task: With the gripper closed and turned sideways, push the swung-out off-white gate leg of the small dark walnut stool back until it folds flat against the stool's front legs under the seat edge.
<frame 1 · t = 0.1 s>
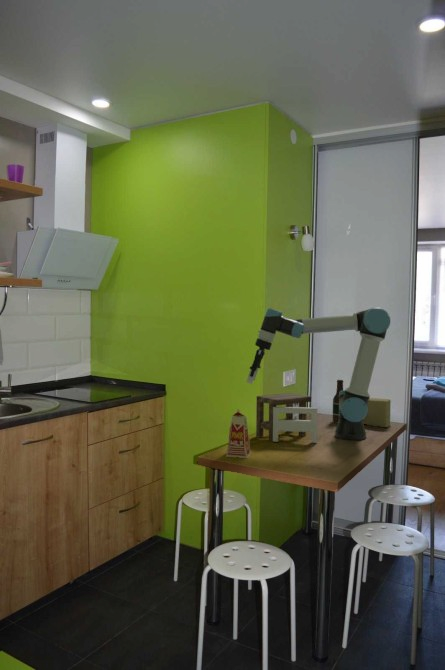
hand: (250, 381, 257), 28 cm above the table, tool tilted 20°, fingers open, 13 cm apart
stool: (281, 436, 263), on the table
beer bottle: (339, 422, 302), on the table
milk carton: (238, 455, 225), on the table
beer glass: (295, 421, 303), on the table
cheese: (368, 425, 295), on the table
gate leg: (294, 424, 249), point 9 cm above the table, hinge at 40.0°
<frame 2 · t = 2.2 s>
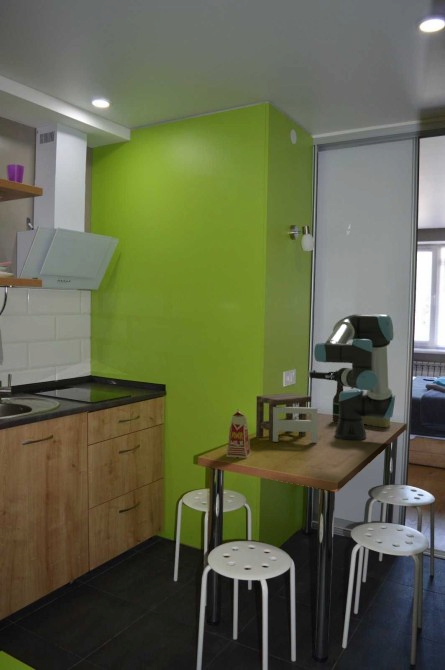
hand: (322, 373, 234), 34 cm above the table, tool horizontal, fingers open, 13 cm apart
nothing on the table moved.
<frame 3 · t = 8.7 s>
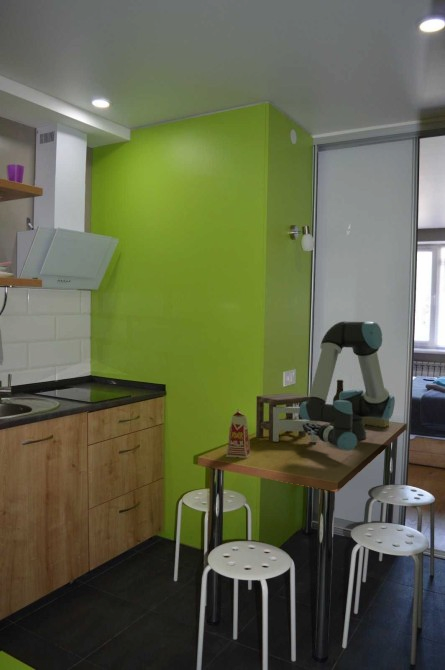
hand: (302, 424, 248), 9 cm above the table, tool horizontal, fingers closed
gate leg: (294, 424, 250), point 9 cm above the table, hinge at 35.8°, touching gripper
everything else where it was.
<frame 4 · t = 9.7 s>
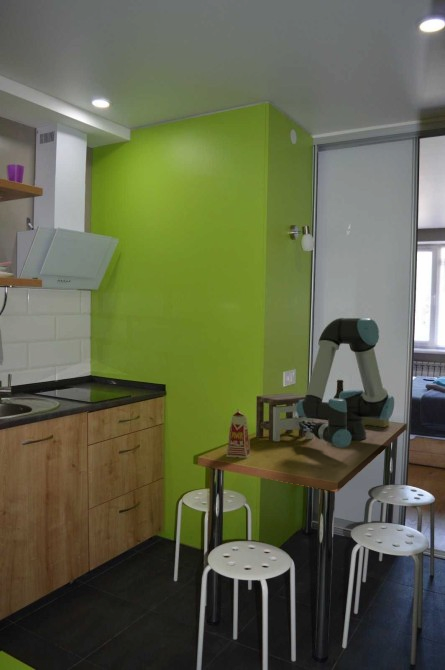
hand: (298, 422, 253), 9 cm above the table, tool horizontal, fingers closed
gate leg: (293, 422, 254), point 9 cm above the table, hinge at 13.8°, touching gripper
everything else where it was.
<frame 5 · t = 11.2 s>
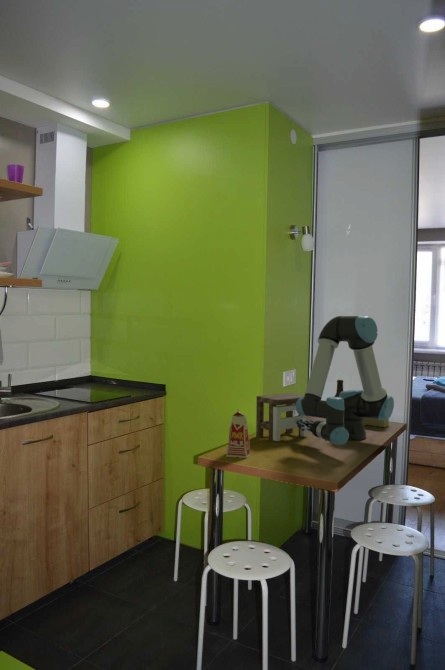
hand: (296, 420, 256), 9 cm above the table, tool horizontal, fingers closed
gate leg: (290, 421, 256), point 9 cm above the table, hinge at -0.7°, touching gripper
everything else where it was.
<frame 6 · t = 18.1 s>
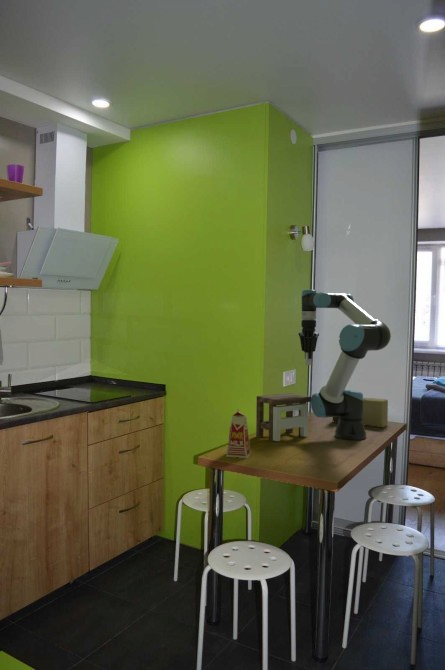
hand: (308, 365, 275), 34 cm above the table, tool pointing down, fingers closed
gate leg: (290, 421, 256), point 9 cm above the table, hinge at -0.7°
at the end: gate leg at -1° (first picture: +40°) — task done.
